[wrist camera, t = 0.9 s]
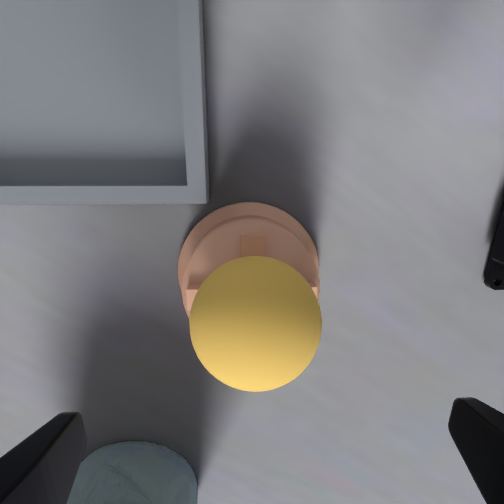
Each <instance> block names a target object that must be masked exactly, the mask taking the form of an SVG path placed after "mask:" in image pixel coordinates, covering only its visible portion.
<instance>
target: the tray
mask: <svg viewBox="0 0 504 504" xmlns="http://www.w3.org/2000/svg"><path fill="white" fill-rule="evenodd" d="M209 199H210V188H209V161H208V134H207V108H206V81H205V54H204V27H203V0H0V205H97V204H207V202H208V200H209Z"/></svg>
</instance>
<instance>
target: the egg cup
mask: <svg viewBox="0 0 504 504" xmlns="http://www.w3.org/2000/svg"><path fill="white" fill-rule="evenodd" d="M246 256H264V257H270V258H274V259H277V260H280V261H282V262H284V263H286V264H288V265H289V266H291V267H292V268H294V269H295V270H296V271H298V272H299V273H300V274H301V275H302V276H303V277H304V278H305V279H306V281H307V282H308V283H309V285H310V286H311V288H312V289H313V291H314V293H315V295H316V298H317V300H319V293H320V281H319V262H318V255H317V252H316V248H315V245H314V243H313V241H312V239H311V237H310V236H309V234H308V232H307V231H306V230H305V229H304V227H303V226H302V225H301V224H300V223H299V222H298V221H297V220H296V219H295V218H294V217H292V216H291V215H290V214H288V213H287V212H285V211H283V210H281V209H279V208H277V207H275V206H272V205H269V204H265V203H260V202H238V203H233V204H229V205H226V206H223V207H220V208H218V209H216V210H214V211H212V212H211V213H209V214H208V215H207V216H205V217H204V218H203V219H202V220H201V221H199V222H198V223H197V224H196V226H195V227H194V228H193V229H192V231H191V232H190V234H189V235H188V237H187V239H186V240H185V242H184V245H183V247H182V249H181V253H180V256H179V261H178V280H179V285H180V289H181V292H182V298H183V304H184V307H185V311H186V313H187V315H188V317H189V319H190V312H191V306H192V303H193V300H194V298H195V295H196V293H197V291H198V289H199V287H200V286H201V285H202V283H203V282H204V281H205V279H206V278H207V277H208V276H209V275H210V274H211V273H212V272H213V271H214V270H216V269H217V268H218V267H220V266H221V265H223V264H225V263H227V262H229V261H231V260H234V259H237V258H241V257H246Z"/></svg>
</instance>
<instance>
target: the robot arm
mask: <svg viewBox="0 0 504 504" xmlns="http://www.w3.org/2000/svg"><path fill="white" fill-rule="evenodd" d="M496 278H497V279H496ZM495 279H496V281H495V282H494V280H495ZM484 283H485V285H486V286H488V287H489V288H491V289H494V290H504V201H503V205H502V210H501V214H500V218H499V222H498V226H497V230H496V234H495V238H494V242H493V246H492V250H491V254H490V258H489V262H488V266H487V270H486V274H485V278H484ZM448 427H449V432H450V434H451V437H452V439H453V440H454V442H455V444H456V446H457V448H458V450H459V452H460V454H461V456H462V458H463V460H464V462H465V464H466V465H467V467H468V469H469V471H470V473H471V475H472V477H473V479H474V481H475V483H476V485H477V487H478V489H479V490H480V492H481V494H482V496H483V498H484V500H485V501H486V503H487V504H504V414H503V413H501V412H499V411H497V410H496V409H494V408H492V407H490V406H488V405H487V404H485V403H483V402H481V401H479V400H478V399H476V398H471V397H467V398H456V399H455V400H454V402H453V406H452V410H451V414H450V418H449V423H448ZM85 448H86V434H85V429H84V424H83V419H82V415H81V414H80V413H79V412H63V413H60V414H58V415H57V416H55V417H54V418H53V419H51V420H50V421H49V422H47V423H46V424H45V425H43V426H42V427H41V428H39V429H38V430H37V431H35V432H34V433H33V434H31V435H30V436H29V437H27V438H26V439H25V440H23V441H22V442H21V443H19V444H18V445H17V446H15V447H14V448H13V449H11V450H10V451H9V452H7V453H6V454H5V455H3V456H2V457H1V458H0V504H67V501H68V498H69V495H70V492H71V489H72V487H73V484H74V481H75V478H76V475H77V472H78V469H79V466H80V463H81V461H82V458H83V455H84V452H85Z"/></svg>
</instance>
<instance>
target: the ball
mask: <svg viewBox="0 0 504 504" xmlns="http://www.w3.org/2000/svg"><path fill="white" fill-rule="evenodd" d="M189 328H190V335H191V341H192V344H193V347H194V350H195V352H196V354H197V356H198V358H199V360H200V361H201V363H202V364H203V365H204V367H205V368H206V369H207V370H208V371H209V372H210V373H211V374H212V375H213V376H214V377H215V378H217V379H218V380H220V381H221V382H223V383H224V384H226V385H228V386H230V387H233V388H236V389H240V390H244V391H256V392H259V391H267V390H272V389H275V388H278V387H281V386H283V385H285V384H287V383H289V382H290V381H292V380H293V379H295V378H296V377H297V376H299V375H300V374H301V373H302V372H303V371H304V369H305V368H306V367H307V366H308V365H309V363H310V362H311V360H312V359H313V357H314V355H315V352H316V350H317V348H318V345H319V341H320V337H321V329H322V319H321V312H320V306H319V303H318V300H317V298H316V295H315V293H314V291H313V289H312V288H311V286H310V285H309V283H308V282H307V281H306V279H305V278H304V277H303V276H302V275H301V274H300V273H299V272H298V271H296V270H295V269H294V268H292V267H291V266H289V265H288V264H286V263H284V262H282V261H280V260H277V259H274V258H270V257H264V256H246V257H241V258H237V259H234V260H231V261H229V262H227V263H225V264H223V265H221V266H220V267H218V268H217V269H216V270H214V271H213V272H212V273H211V274H210V275H209V276H208V277H207V278H206V279H205V281H204V282H203V283H202V285H201V286H200V287H199V289H198V291H197V293H196V295H195V298H194V300H193V303H192V306H191V312H190V319H189Z"/></svg>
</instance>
